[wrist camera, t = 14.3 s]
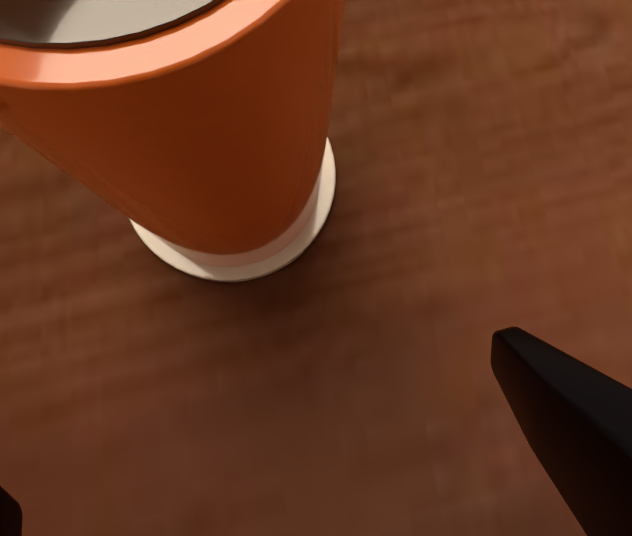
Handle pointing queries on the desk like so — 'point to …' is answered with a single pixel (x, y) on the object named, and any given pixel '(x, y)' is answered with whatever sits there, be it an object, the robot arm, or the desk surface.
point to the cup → (180, 111)
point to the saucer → (264, 265)
